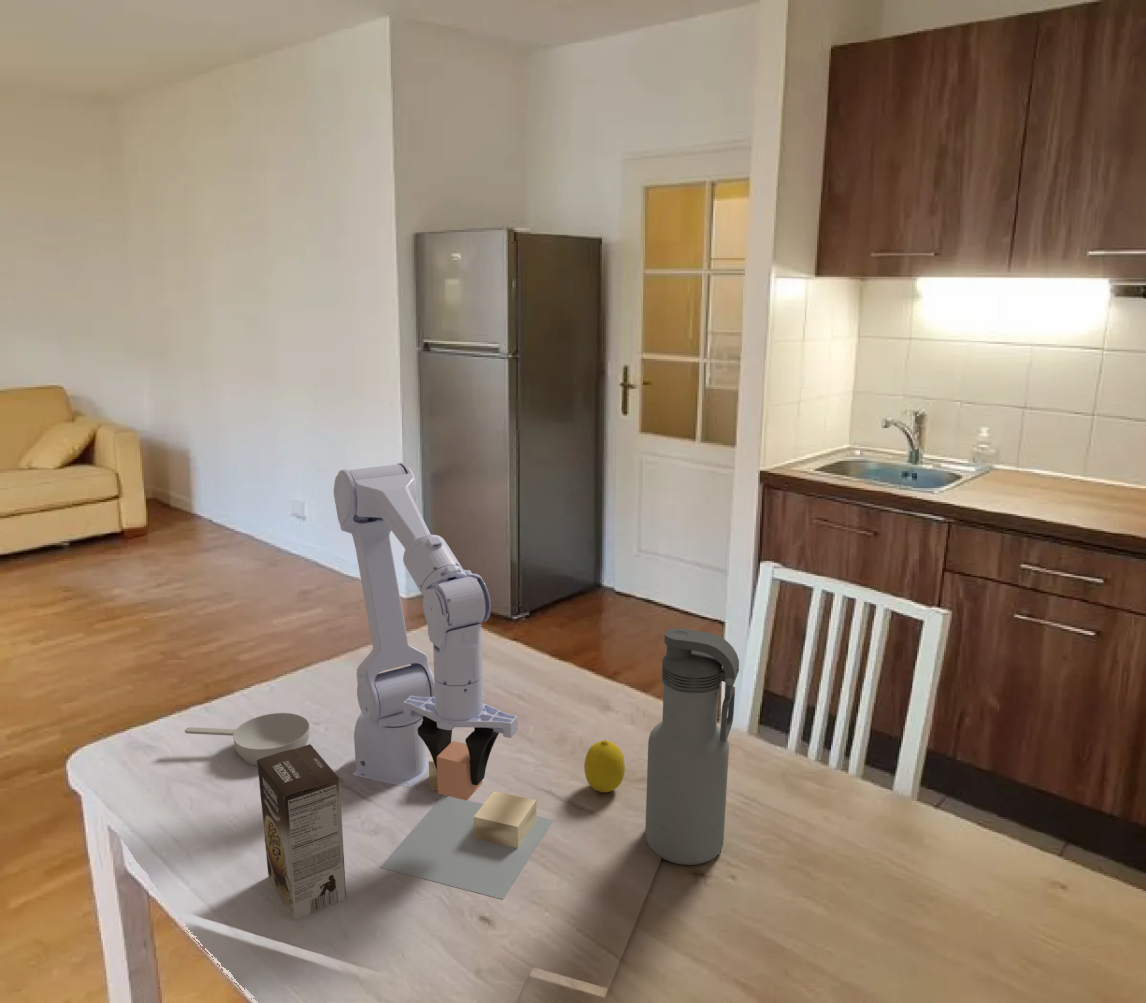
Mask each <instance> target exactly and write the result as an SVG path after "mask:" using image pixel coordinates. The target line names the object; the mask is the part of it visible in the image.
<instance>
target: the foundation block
mask: <svg viewBox="0 0 1146 1003" xmlns="http://www.w3.org/2000/svg"><path fill="white" fill-rule="evenodd" d="M482 804H483V805H482V807H481V808H480V809H479V811H478V812H477V813H476V814H475V816H474V838H477V839H481V840H486V841H490V842H494V843H498V844H502V845H507V846H511V847H515V848H519V846H520V845H521V843H522V842H523V840H524V839H525V837H526V836H527V834H528V833H529V831H530V830H531V828H532V827H533V825H534V824H535V822H536V816H537V800H536V799H533V798H528V797H527V798H526V797H523V796H519V795H513V794H509V793H505V792H500V791H495V790H493V791H492V793H491V794H490V795H489V796H488V798H487V799H486V800H485V802H483V803H482Z"/></svg>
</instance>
